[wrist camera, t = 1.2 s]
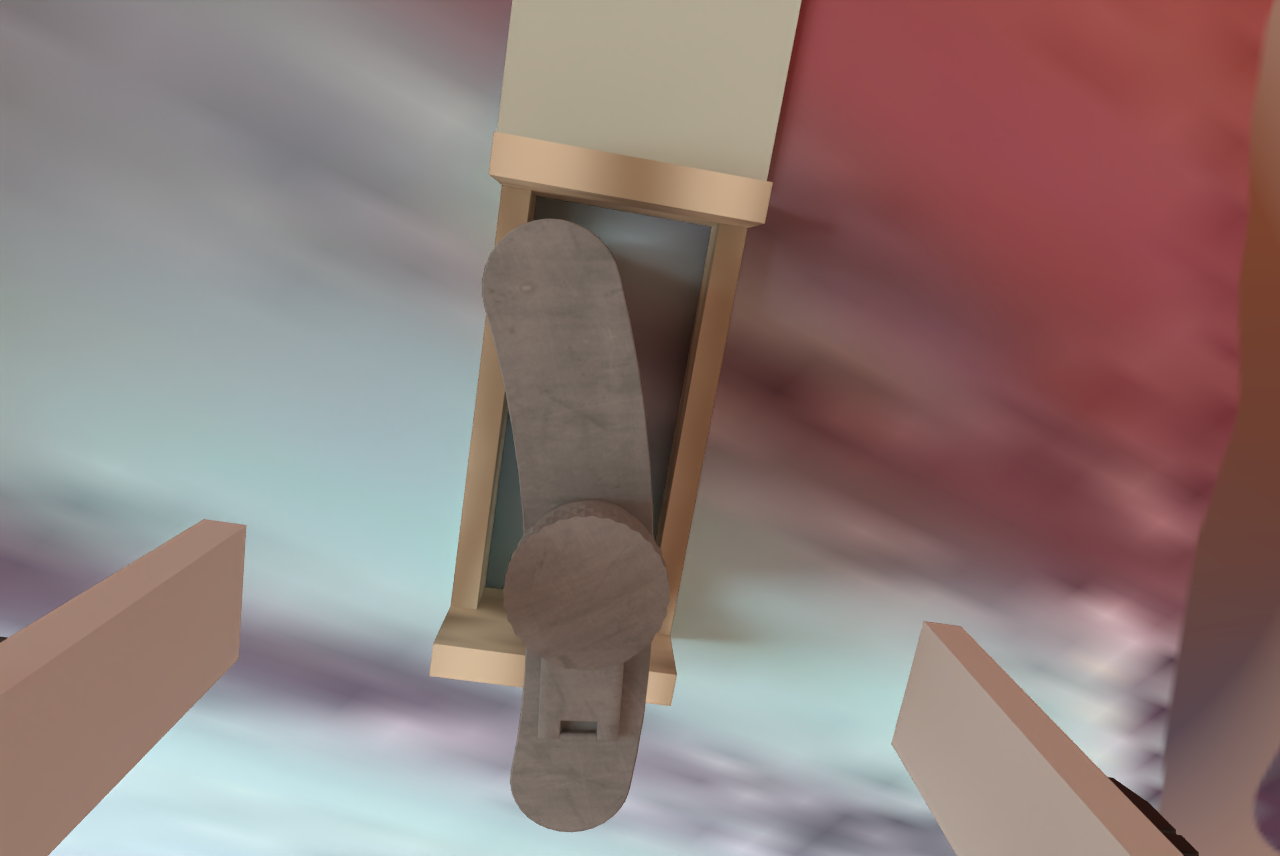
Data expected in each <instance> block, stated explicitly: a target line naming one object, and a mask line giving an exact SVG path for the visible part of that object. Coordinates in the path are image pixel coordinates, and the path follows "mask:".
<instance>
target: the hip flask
mask: <svg viewBox="0 0 1280 856" xmlns="http://www.w3.org/2000/svg"><path fill="white" fill-rule="evenodd" d="M482 297H483V302H484V307H485V311H486V315H487V319H488V322H489V326H490V330H491V333H492V337H493V341H494V344H495V348H496V353H497V357H498V361H499V366H500V370H501V374H502V379H503V383H504V388H505V392H506V398H507V404H508V409H509V415H510V421H511V426H512V432H513V439H514V446H515V453H516V460H517V467H518V474H519V485H520V495H521V506H522V517H523V535H524V537H523V538H521V539H520V540H519V542H518V545H517V548H516V549H515V550H514V552H513V553H512V555H511V561H510V562H509V565H508V571H507V572H506V574H505V585H504V587H503V594H504V608H505V610H506V612H507V620H508V622H509V623H510V624H511V626H512V627H513V631H514V633H515V635H516V636H517V637H519V638H520V639H521V641H522V643H523V645H524V646H525V647H526V652H525V672H524V684H523V696H522V707H521V714H520V721H519V728H518V736H517V742H516V747H515V753H514V758H513V763H512V769H511V778H510V784H511V791H512V794H513V797H514V799H515V802H516V803H517V805H518V806H519V808H520V809H521V811H522V812H523V813H524V814H525V815H526V816H527V817H528V818H529V819H531V820H532V821H534V822H535V823H537V824H539V825H541V826H543V827H545V828H548V829H552V830H556V831H562V832H577V831H584V830H588V829H591V828H594V827H596V826H598V825H601V824H603V823H604V822H606V821H607V820H609V819H610V818H611V817H613V816H614V815H615V814H616V813H617V811H618V810H619V809H620V808H621V807H622V805H623V803H624V802H625V800H626V798H627V795H628V792H629V789H630V785H631V780H632V776H633V771H634V766H635V762H636V757H637V752H638V746H639V741H640V735H641V729H642V723H643V718H644V711H645V703H646V694H647V686H648V678H649V666H650V655H651V643H652V641H653V639H654V636H655V634H656V633H657V632H659V631H660V629H661V627H662V623H663V621H664V619H665V617H666V616H667V606H668V604H669V602H670V597H669V589H670V583H669V581H668V572H667V570H666V563H665V560H664V559H663V557H662V550H661V549H660V548H659V547H658V546H657V544H656V542H655V539H654V533H653V500H652V482H651V464H650V454H649V444H648V434H647V424H646V415H645V407H644V400H643V392H642V385H641V377H640V370H639V365H638V359H637V354H636V348H635V343H634V338H633V332H632V327H631V321H630V317H629V312H628V308H627V303H626V299H625V294H624V289H623V285H622V280H621V276H620V272H619V269H618V267H617V264H616V261H615V259H614V257H613V256H612V254H611V252H610V250H609V249H608V248H607V246H606V245H605V244H604V243H603V242H602V241H601V240H600V238H599V237H597V236H596V235H595V234H593V233H592V232H591V231H589V230H588V229H586V228H584V227H582V226H580V225H578V224H576V223H573V222H570V221H566V220H562V219H548V218H547V219H540V220H533V221H531V222H528V223H525V224H522V225H520V226H518V227H517V228H515V229H514V230H512V231H510V232H509V233H508V234H507V235H505V236H504V237H503V238H502V239H501V240H500V241H499V242H498V244H497V245H496V246H495V248H494V249H493V251H492V252H491V254H490V256H489V258H488V261H487V263H486V265H485V269H484V274H483V278H482Z"/></svg>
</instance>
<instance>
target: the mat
mask: <svg viewBox="0 0 1280 856" xmlns="http://www.w3.org/2000/svg"><path fill="white" fill-rule="evenodd" d="M801 1H802V0H512V9H511V17H510V26H509V34H508V42H507V51H506V59H505V68H504V76H503V84H502V93H501V101H500V110H499V118H498V126H497V132H500V133H505V134H511V135H516V136H522V137H527V138H533V139H538V140H544V141H549V142H555V143H560V144H566V145H571V146H577V147H582V148H587V149H593V150H598V151H604V152H609V153H615V154H620V155H626V156H631V157H637V158H642V159H648V160H653V161H659V162H664V163H670V164H675V165H681V166H686V167H692V168H697V169H702V170H708V171H713V172H719V173H724V174H730V175H735V176H741V177H746V178H752V179H757V180H763V181H767V177H768V172H769V167H770V161H771V156H772V151H773V146H774V141H775V135H776V130H777V125H778V120H779V115H780V110H781V104H782V99H783V94H784V89H785V84H786V78H787V73H788V68H789V63H790V58H791V53H792V47H793V42H794V37H795V32H796V27H797V22H798V16H799V11H800V6H801Z"/></svg>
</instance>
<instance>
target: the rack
mask: <svg viewBox="0 0 1280 856" xmlns="http://www.w3.org/2000/svg"><path fill="white" fill-rule="evenodd" d="M489 175H490V176H492V177H493V178H494V179H495V180H497V181H498V182H499V183H500V184H502V190H501V198H500V207H499V215H498V223H497V231H496V239H495V246H496V245H497V244H498V242H499V241H500V240H501V239H502V238H503V237H504V236H505V235H507V234H508V233H509V232H510V231H512V230H514V229H515V228H517V227H518V226H520V225H522V224H525V223H528V222H531V221H533V220H534V213H535V206H536V198H537V196H541V197H547V198H552V199H558V200H564V201H569V202H575V203H581V204H586V205H592V206H598V207H603V208H609V209H615V210H620V211H626V212H632V213H637V214H643V215H649V216H654V217H660V218H666V219H671V220H677V221H683V222H688V223H694V224H700V225H705V226H711V233H710V239H709V244H708V250H707V255H706V261H705V266H704V272H703V277H702V283H701V288H700V294H699V299H698V305H697V311H696V316H695V322H694V327H693V333H692V338H691V344H690V349H689V355H688V360H687V366H686V371H685V377H684V383H683V388H682V394H681V399H680V405H679V410H678V416H677V421H676V427H675V432H674V438H673V444H672V449H671V455H670V460H669V466H668V471H667V477H666V482H665V488H664V493H663V499H662V504H661V510H660V516H659V521H658V527H657V532H656V538H655V542H656V544H657V546H658V547H659V548H660V549H661V550H662V557H663V559H664V560H665V563H666V570H667V572H668V581H669V583H670V589H669V597H670V602H669V604H668V606H667V616H666V617H665V619H664V621H663V623H662V627H661V629H660V631H659V632H657V633H656V634H655V636H654V639H653V641H652V643H651V655H650V666H649V678H648V686H647V694H646V703H651V704H659V705H667V706H671V702H672V697H673V692H674V687H675V682H676V677H677V673H676V667H675V661H674V655H673V650H672V644H671V638H670V633H671V628H672V622H673V617H674V612H675V607H676V601H677V596H678V591H679V586H680V580H681V575H682V570H683V565H684V559H685V554H686V549H687V544H688V538H689V533H690V528H691V523H692V517H693V512H694V507H695V502H696V496H697V491H698V486H699V481H700V475H701V470H702V465H703V460H704V454H705V449H706V444H707V439H708V433H709V428H710V423H711V418H712V412H713V407H714V402H715V397H716V391H717V386H718V381H719V375H720V370H721V365H722V360H723V354H724V349H725V344H726V339H727V333H728V328H729V323H730V318H731V312H732V307H733V302H734V297H735V291H736V286H737V281H738V276H739V270H740V265H741V260H742V255H743V249H744V244H745V239H746V234H747V228H750V227H754V226H757V225H761V224H765V220H766V215H767V210H768V205H769V199H770V194H771V189H772V184H773V182H768V181H763V180H757V179H752V178H746V177H741V176H735V175H730V174H724V173H719V172H713V171H708V170H702V169H697V168H692V167H686V166H681V165H675V164H670V163H664V162H659V161H653V160H648V159H642V158H637V157H631V156H626V155H620V154H615V153H609V152H604V151H598V150H593V149H587V148H582V147H577V146H571V145H566V144H560V143H555V142H549V141H544V140H538V139H533V138H527V137H522V136H516V135H511V134H505V133H500V132H494V135H493V143H492V151H491V160H490V168H489ZM508 410H509V409H508V404H507V398H506V392H505V388H504V383H503V379H502V374H501V370H500V366H499V361H498V357H497V353H496V348H495V344H494V341H493V337H492V333H491V330H490V326H489V322H488V319H487V315H486V321H485V329H484V338H483V346H482V354H481V362H480V370H479V378H478V387H477V395H476V403H475V411H474V419H473V427H472V436H471V444H470V452H469V460H468V468H467V477H466V485H465V493H464V501H463V509H462V517H461V526H460V534H459V542H458V550H457V558H456V567H455V575H454V583H453V591H452V599H451V607H450V609H449V611H448V613H447V615H446V617H445V619H444V622H443V624H442V626H441V628H440V630H439V632H438V635H437V637H436V639H435V641H434V643H433V650H432V658H431V667H430V675H429V676H434V677H442V678H450V679H458V680H466V681H474V682H482V683H490V684H498V685H507V686H515V687H523V684H524V672H525V652H526V647H525V646H524V645H523V643H522V641H521V639H520V638H519V637H517V636H516V635H515V633H514V631H513V627H512V626H511V624H510V623H509V622H508V620H507V612H506V610H505V608H504V594H503V589H497V588H490V587H485V585H486V577H487V569H488V562H489V554H490V547H491V539H492V532H493V524H494V516H495V509H496V501H497V494H498V486H499V478H500V471H501V463H502V456H503V448H504V441H505V433H506V425H507V418H508Z"/></svg>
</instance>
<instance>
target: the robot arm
mask: <svg viewBox="0 0 1280 856" xmlns="http://www.w3.org/2000/svg"><path fill="white" fill-rule="evenodd" d="M245 538H246V525H241V524H234V523H227V522H220V521H213V520H206V519H204V520H202V521H200V522H199V523H197V524H195V525H194V526H192V527H190V528H189V529H187V530H185V531H184V532H182V533H180V534H179V535H177V536H175V537H174V538H172V539H171V540H169V541H167V542H166V543H164V544H162V545H161V546H159V547H157V548H156V549H154V550H152V551H151V552H149V553H147V554H146V555H144V556H142V557H141V558H139V559H138V560H136V561H134V562H133V563H131V564H129V565H128V566H126V567H124V568H123V569H121V570H119V571H118V572H116V573H114V574H113V575H111V576H109V577H108V578H106V579H105V580H103V581H101V582H100V583H98V584H96V585H95V586H93V587H91V588H90V589H88V590H86V591H85V592H83V593H81V594H80V595H78V596H76V597H75V598H73V599H71V600H70V601H68V602H67V603H65V604H63V605H62V606H60V607H58V608H57V609H55V610H53V611H52V612H50V613H48V614H47V615H45V616H43V617H42V618H40V619H38V620H37V621H35V622H34V623H32V624H30V625H29V626H27V627H25V628H24V629H22V630H20V631H19V632H17V633H15V634H14V635H12V636H10V637H9V638H6V637H0V856H48V855H49V854H50V853H51V852H52V851H53V850H54V849H55V848H56V847H57V846H58V845H59V844H60V843H61V841H62V840H63V839H64V838H65V837H66V836H67V835H68V834H69V833H70V832H71V831H72V830H73V829H74V828H75V827H76V826H77V825H78V824H79V823H80V822H81V821H82V820H83V819H84V818H85V817H86V816H87V815H88V814H89V813H90V812H91V811H92V809H93V808H94V807H95V806H96V805H97V804H98V803H99V802H100V801H101V800H102V799H103V798H104V797H105V796H106V795H107V794H108V793H109V792H110V791H111V790H112V789H113V788H114V787H115V786H116V785H117V784H118V783H119V782H120V781H121V780H122V779H123V777H124V776H125V775H126V774H127V773H128V772H129V771H130V770H131V769H132V768H133V767H134V766H135V765H136V764H137V763H138V762H139V761H140V760H141V759H142V758H143V757H144V756H145V755H146V754H147V753H148V752H149V751H150V750H151V749H152V748H153V747H154V745H155V744H156V743H157V742H158V741H159V740H160V739H161V738H162V737H163V736H164V735H165V734H166V733H167V732H168V731H169V730H170V729H171V728H172V727H173V726H174V725H175V724H176V723H177V722H178V721H179V720H180V719H181V718H182V717H183V716H184V714H185V713H186V712H187V711H188V710H189V709H190V708H191V707H192V706H193V705H194V704H195V703H196V702H197V701H198V700H199V699H200V698H201V697H202V696H203V695H204V694H205V693H206V692H207V691H208V690H209V689H210V688H211V687H212V686H213V685H214V684H215V682H216V681H217V680H218V679H219V678H220V677H221V676H222V675H223V674H224V673H225V672H226V671H227V670H228V669H229V668H230V667H231V666H232V665H233V664H234V663H235V662H236V661H237V660H238V655H239V639H240V622H241V605H242V588H243V572H244V555H245ZM891 744H892V746H893V747H894V749H895V751H896V752H897V754H898V756H899V758H900V759H901V761H902V763H903V764H904V766H905V768H906V770H907V771H908V773H909V775H910V776H911V778H912V780H913V781H914V783H915V785H916V787H917V788H918V790H919V792H920V793H921V795H922V797H923V799H924V800H925V802H926V804H927V805H928V807H929V809H930V811H931V812H932V814H933V816H934V817H935V819H936V821H937V823H938V824H939V826H940V828H941V829H942V831H943V833H944V834H945V836H946V838H947V840H948V841H949V843H950V845H951V846H952V848H953V850H954V852H955V853H956V855H957V856H1199V855H1198V852H1197V851H1196V850H1195V849H1194V848H1193V847H1192V846H1191V845H1190V844H1189V843H1188V842H1187V841H1186V840H1185V839H1184V838H1183V837H1182V836H1181V835H1177V834H1176V830H1175V829H1174V828H1173V827H1172V826H1171V825H1170V824H1169V823H1168V822H1167V821H1166V820H1165V819H1164V818H1163V817H1162V816H1161V815H1160V814H1159V813H1158V812H1157V811H1156V810H1155V809H1154V808H1153V807H1152V806H1151V805H1150V804H1149V803H1148V802H1147V801H1145V800H1144V799H1143V798H1141V797H1140V796H1138V795H1137V794H1135V793H1134V792H1132V791H1131V790H1130V789H1128V788H1127V787H1125V786H1124V785H1122V784H1121V783H1120V782H1118V781H1117V780H1115V779H1114V778H1110V777H1107V776H1106V775H1105V774H1104V773H1103V772H1102V771H1101V770H1100V769H1099V768H1098V767H1097V766H1096V765H1095V764H1094V763H1093V762H1092V761H1091V760H1090V759H1089V758H1088V757H1087V756H1086V755H1085V754H1084V753H1083V751H1082V750H1081V749H1080V748H1079V747H1078V746H1077V745H1076V744H1075V743H1074V742H1073V741H1072V740H1071V739H1070V738H1069V737H1068V736H1067V735H1066V734H1065V733H1064V732H1063V731H1062V730H1061V729H1060V728H1059V727H1058V726H1057V725H1056V724H1055V723H1054V722H1053V721H1052V720H1051V719H1050V718H1049V717H1048V716H1047V714H1046V713H1045V712H1044V711H1043V710H1042V709H1041V708H1040V707H1039V706H1038V705H1037V704H1036V703H1035V702H1034V701H1033V700H1032V699H1031V698H1030V697H1029V696H1028V695H1027V694H1026V693H1025V692H1024V691H1023V690H1022V689H1021V688H1020V687H1019V686H1018V685H1017V684H1016V683H1015V682H1014V681H1013V680H1012V679H1011V677H1010V676H1009V675H1008V674H1007V673H1006V672H1005V671H1004V670H1003V669H1002V668H1001V667H1000V666H999V665H998V664H997V663H996V662H995V661H994V660H993V659H992V658H991V657H990V656H989V655H988V654H987V653H986V652H985V651H984V650H983V649H982V648H981V647H980V646H979V645H978V644H977V643H976V642H975V640H974V639H973V638H972V637H971V636H970V635H969V634H968V633H967V632H966V631H965V630H964V629H963V628H962V627H961V626H954V625H947V624H940V623H933V622H926V621H924V623H923V626H922V630H921V634H920V638H919V642H918V645H917V649H916V653H915V657H914V660H913V664H912V668H911V672H910V675H909V679H908V683H907V687H906V691H905V694H904V698H903V702H902V706H901V709H900V713H899V717H898V721H897V724H896V728H895V732H894V736H893V739H892V743H891Z"/></svg>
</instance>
